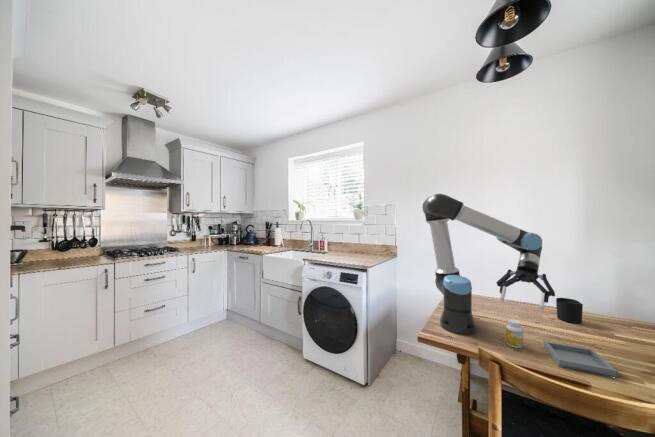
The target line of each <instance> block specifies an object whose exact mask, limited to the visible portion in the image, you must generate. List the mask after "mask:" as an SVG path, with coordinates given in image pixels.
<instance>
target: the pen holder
mask: <svg viewBox="0 0 655 437" xmlns="http://www.w3.org/2000/svg"><path fill="white" fill-rule="evenodd" d="M555 303H556V304H555V305H556V318H557V319H558V320H559V321H561V322H564V323H568V324H573V325H574V324H575V325H580V324H582V323H583V308H584V306H583V305H584V304H583V303H581V302H580V301H578V300H576V299H574V298H567V297H556V298H555Z"/></svg>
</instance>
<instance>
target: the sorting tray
mask: <svg viewBox="0 0 655 437" xmlns="http://www.w3.org/2000/svg"><path fill="white" fill-rule="evenodd" d="M543 348H544V349H545V351H546V352H547V354H548V355H549V356H550V358H552V360H553V361H554V363H555V364H556V365H557V366H558V367H559V368H562V369H569V370H572V371H577V372H582V373H587V374H592V375H597V376H601V377H607V378H611V377H615V378H614V379H616V378H617V379H618V370H617V369H616V368H615V367H614V366H612V365H611V364H610V363H609V362H608V361H607V360H606V359H604V358H603V357H602V356H601V355H600V354H599V353H597V352H596V351H595V350H594V349H593V348H586V347H581V346H576V345H575V346H574V345H569V344H564V343H557V342H552V341H548V340H543Z"/></svg>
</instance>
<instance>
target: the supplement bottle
mask: <svg viewBox="0 0 655 437" xmlns="http://www.w3.org/2000/svg"><path fill="white" fill-rule="evenodd" d="M507 322H508V324H506V326H505V329H506V330H505V334H506V335H505V340H506V341H505V342H506V344H507V345H508V346H510V347H512V348H515V349H523V348H524V329H523V328H522V327H521V326H522V324H521V321H520V320H518V319H512V318H511V319H510V318H509V319H508V320H507Z"/></svg>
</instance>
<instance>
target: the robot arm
mask: <svg viewBox="0 0 655 437" xmlns="http://www.w3.org/2000/svg"><path fill="white" fill-rule="evenodd" d="M422 211H423V213H424V216H425V222H426V223H427V224H428V225H429V226H430V227H429V228H430V232H431V233H430V234H431V239H432V240H431V241H432V244H433V250H434V255H435V261H436V267H437V268H435V270H434V274H435V281H434V282H435V286H436V288H437V290H438V291H439V292H440V293H441V294H442V296H443V310H442V312H441V315H440V318H439V325H440V327H441V328H442V329H444V330H447V331H448V332H450V333H453V334H458V335H473V334H475V333H476V332H477V325H476V321H475V319H474V316H473V315H474V314H473V312H472V311H473V309H472V308H473V307H472V306H473V305H472V304H473V302H472V300H473V299H472V297H473V295H472V294H473V293H472V291H473V287H472V286H473V285H472V282H471V280H470V279H469V278H468V277H465V276H463V275H461V274H460V269H459V268H457V267H456V264H455V260H454V252H453V249H452V242H451V236H450V230H449V226H448V222H449V220H450V221H458V222H460V223H463V224H465V225H467V226H469V227H472V228H474V229H477V230H479V231H481V232H484V233H486V234H489V235H491V236H493V237H496V240H497V241H499V242H500V243H501V244H503V245H506V246H508V247H510V248H512V249H513V250H515V251H517V252H519V257H518V263H517V267H516V270H515V271H514V270H512V269H508V270H507V272H506V273H505V274H504V275H503V276H502V277H501V278H500V279H498V280H497V281H496V285H497V287H500V288H499V294H501V295H500V299H501V302H504V301H505V297H506V293H507V288H508V287H509V286H512V285H514V284H515V283H519V282H522V283H528V284H530V283H532V284H533V285H534V286H536V287H537V289H538V290H540V292H541V297H540V299H541V300H540V310H541V311H545V310H544V309H545V303H546V304H548V303H549V298H550V297H556V292H555V290H554V289H553V287H552V285H551V284H550V282H549V280H548V278H547V274H546V273H542V274H539V268H540V262H541V261H540V260H541V255H542V250H543V239H542V237H541V236H540V235H539V234H537V233H534V232H528V231H526V230H524V229H521V228H518V227H516V226H514V225H512V224H509V223H507V222H505V221H502V220H500V219H497V218H494V217H492V216H490V215H488V214H486V213H483V212H480V211H479V210H476V209H474V208H472V207H468V206H467V205H465V203H464V202H463V201H460V200H458V199H456V198H454V197H451V196H449V195H447V194H443V193H435V194H433V195H430V196H429V197H427V198H426V199H424V201H423V204H422ZM512 276H513V277H512ZM538 279H540V280H541V281H543V283H544V285H545V287H546V288H545V287H544V286H543V284H541V283H540V281H538Z"/></svg>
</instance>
